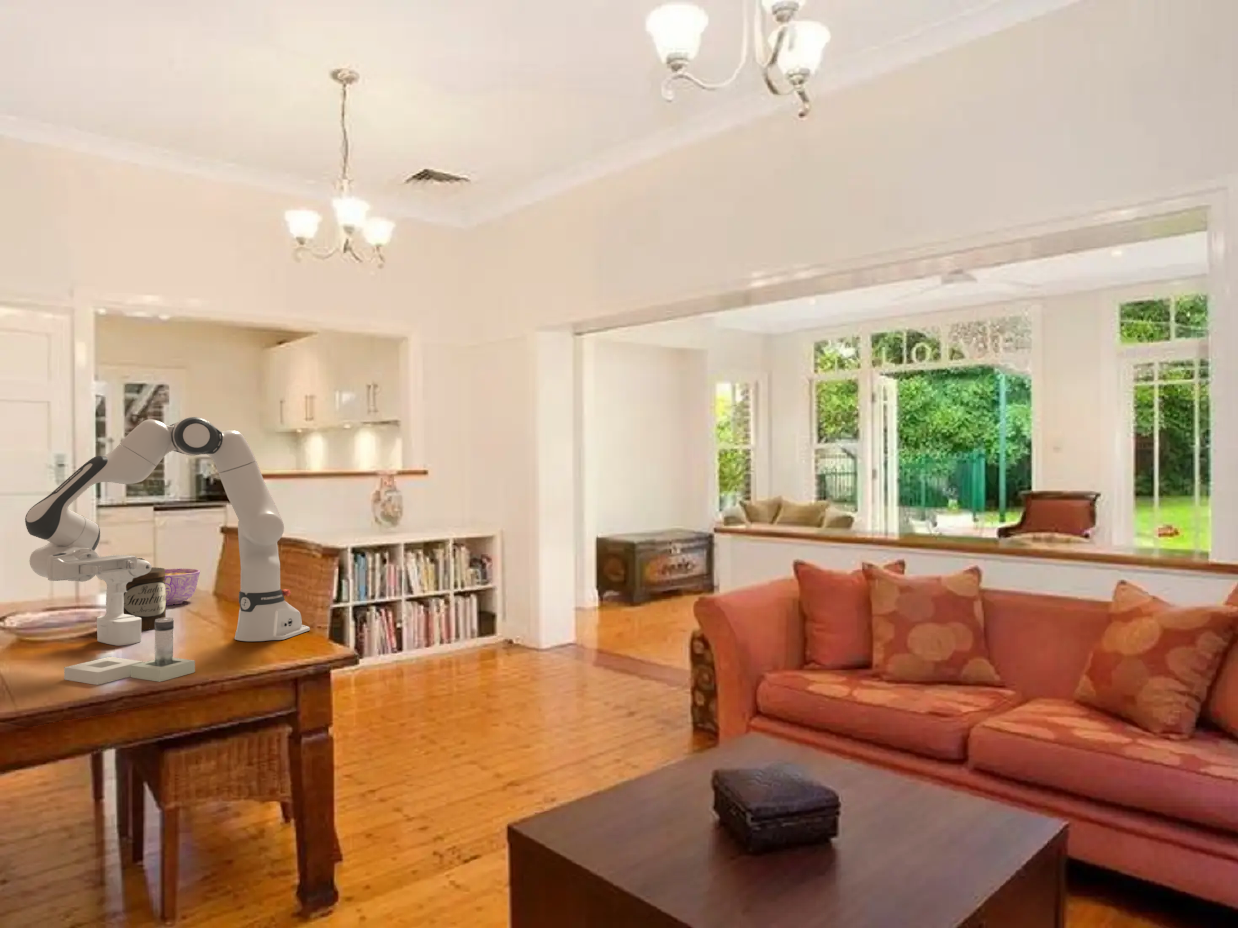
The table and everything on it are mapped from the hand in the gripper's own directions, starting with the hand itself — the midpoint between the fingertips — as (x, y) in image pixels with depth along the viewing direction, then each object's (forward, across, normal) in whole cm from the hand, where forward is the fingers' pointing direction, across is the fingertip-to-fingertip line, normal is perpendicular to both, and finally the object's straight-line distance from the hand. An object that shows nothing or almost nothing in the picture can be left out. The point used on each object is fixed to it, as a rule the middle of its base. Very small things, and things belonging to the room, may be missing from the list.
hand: (116, 567), depth 219 cm
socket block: (+5, +7, -26) cm, 27 cm away
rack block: (+17, 0, -26) cm, 31 cm away
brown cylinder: (-42, -39, -26) cm, 63 cm away
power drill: (-25, -21, -26) cm, 42 cm away
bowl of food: (-70, -73, -26) cm, 104 cm away
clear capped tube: (+17, 0, -26) cm, 31 cm away
